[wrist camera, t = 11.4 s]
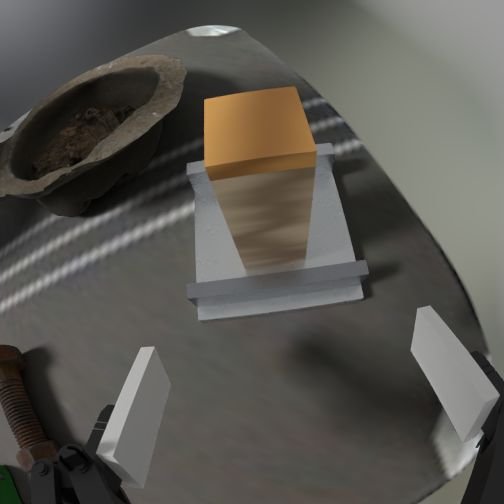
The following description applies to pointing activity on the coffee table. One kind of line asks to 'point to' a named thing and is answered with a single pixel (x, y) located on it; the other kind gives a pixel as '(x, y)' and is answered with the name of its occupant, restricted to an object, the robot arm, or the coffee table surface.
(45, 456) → the bolt
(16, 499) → the green notched mounting bracket
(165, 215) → the coffee table surface
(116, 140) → the stone bowl
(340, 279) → the keeper bracket
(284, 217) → the block
